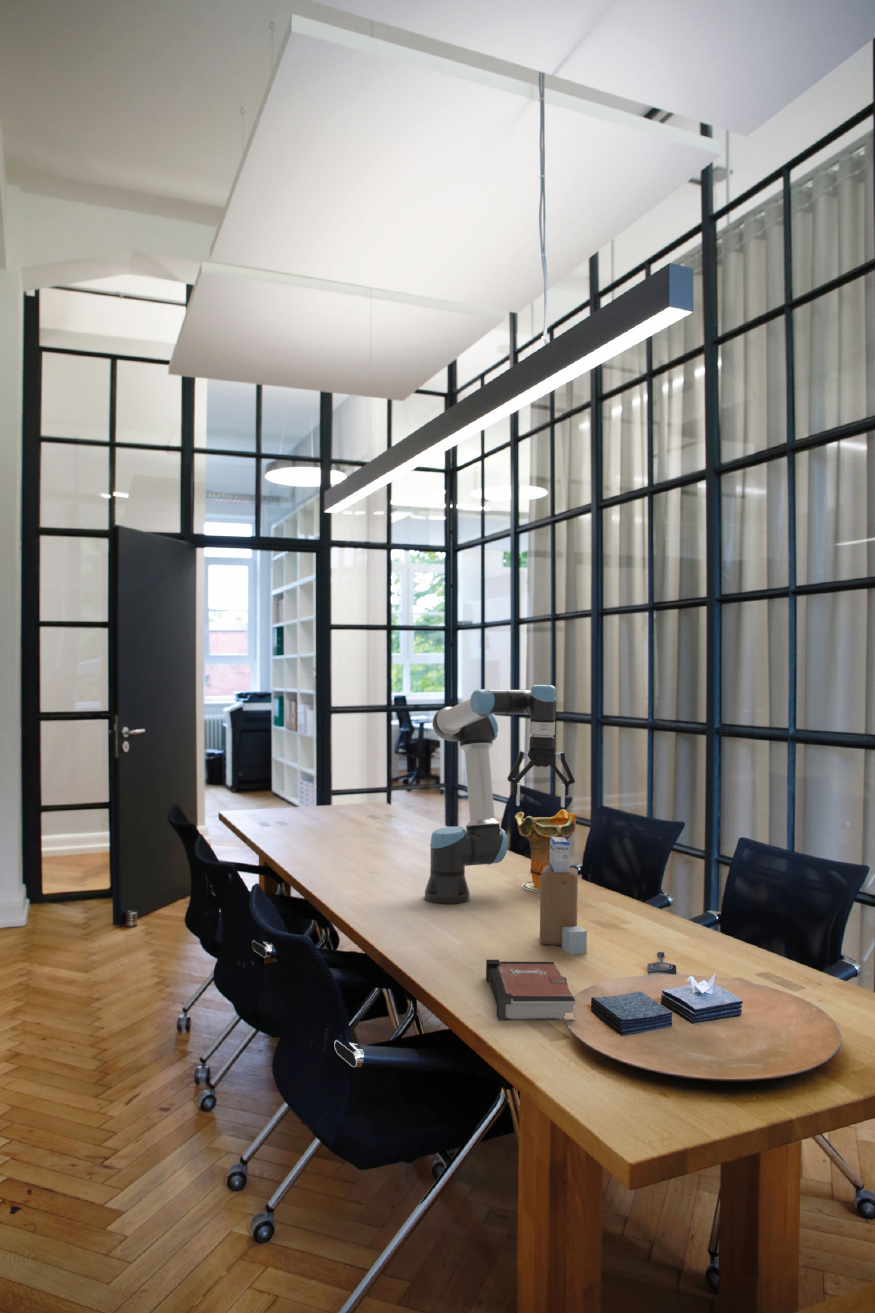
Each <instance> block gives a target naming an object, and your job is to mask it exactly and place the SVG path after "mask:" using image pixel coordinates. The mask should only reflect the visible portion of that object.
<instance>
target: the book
mask: <svg viewBox="0 0 875 1313" xmlns="http://www.w3.org/2000/svg"><path fill="white" fill-rule="evenodd" d="M485 979H486V983H488V984H489V985H490V988H491V992H492V995H493V998H494V1002H495V1004H496V1017H497V1020H498V1021H566V1020H565V1018H564V1016H565V1013H572V1012H573V1013H574V1005H576V1003H577V1001H576V999H575V998H574V996H573V994H572V993H571V991H570V989H569V987H568V982H567V981H568V980H567V978H566V977H564V976H563V975H562V973H561V972H560V970H559V969H558V967H557V965H556V964H555V962H554V961H503V960H502V961H501V960H500V959H486V961H485Z"/></svg>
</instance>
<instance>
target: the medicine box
mask: <svg viewBox="0 0 875 1313" xmlns="http://www.w3.org/2000/svg"><path fill="white" fill-rule="evenodd" d="M570 843H571V842H570V841H569V840H568V839H567V840H566V839H565V838H564V837H550V860H549V866H550V868H551V869H552V870H553V871H554V872H555V873H569V868H570V865H571V864H570V860H571V859H570V857H571V844H570Z"/></svg>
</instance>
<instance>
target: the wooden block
mask: <svg viewBox="0 0 875 1313" xmlns="http://www.w3.org/2000/svg"><path fill="white" fill-rule="evenodd" d="M578 879H579V871H578V869H577V867H576V868H575V867H569V873H555V872H554V871H553V870H552V869H551V868H550V866H545V867H544V868H543V871H542V873H541V886H540V892H539V893H540V894H539V898H540V899H539V900H540V901H539V903H540V904H539V906H540V907H539V942H540V943H541V944H542V945H553V946H562V927H572V926H578V896H579V894H578V891H579V890H578V888H579V887H578V885H579V884H578V882H579V880H578Z"/></svg>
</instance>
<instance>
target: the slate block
mask: <svg viewBox="0 0 875 1313" xmlns="http://www.w3.org/2000/svg"><path fill="white" fill-rule="evenodd" d="M587 934H588V931H587V930H586V929H584V928H583V927H581V926H579V925H577V926H572V927H562V945H561V949H562V950H563V951H564V952H565V953H566V954H568V955H582V954H583V955H585V954H587V952H588V951H587V950H588V949H587V947H588V946H587V945H588V943H587V941H588V935H587Z"/></svg>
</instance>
